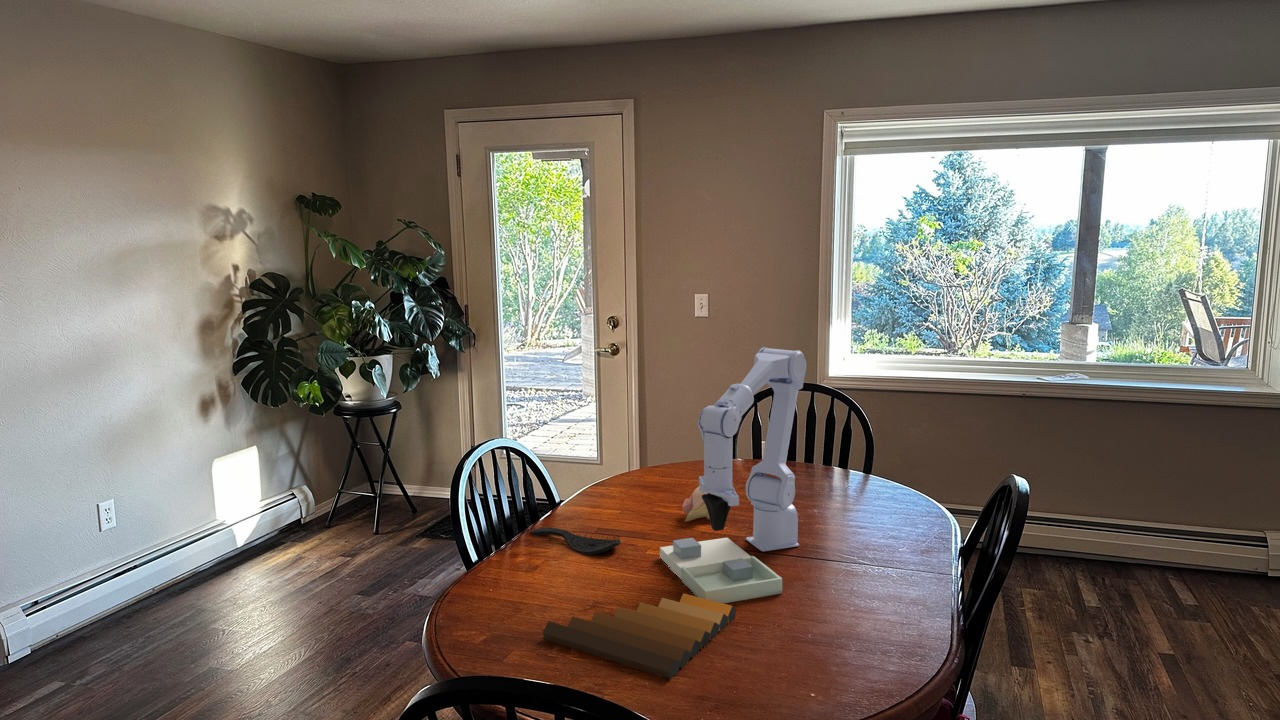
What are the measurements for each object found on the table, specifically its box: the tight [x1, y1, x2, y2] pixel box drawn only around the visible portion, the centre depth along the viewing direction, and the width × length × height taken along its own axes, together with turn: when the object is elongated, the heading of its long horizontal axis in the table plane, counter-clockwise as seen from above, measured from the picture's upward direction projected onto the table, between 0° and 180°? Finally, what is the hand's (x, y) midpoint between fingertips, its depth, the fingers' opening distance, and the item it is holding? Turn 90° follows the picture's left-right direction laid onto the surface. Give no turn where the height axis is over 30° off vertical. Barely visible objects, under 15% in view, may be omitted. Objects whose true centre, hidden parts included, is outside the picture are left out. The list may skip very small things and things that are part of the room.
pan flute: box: [542, 592, 737, 680], centre depth 142 cm, size 25×3×25 cm
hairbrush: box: [530, 526, 622, 556], centre depth 182 cm, size 8×4×25 cm
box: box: [680, 555, 783, 604], centre depth 158 cm, size 16×12×3 cm
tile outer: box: [672, 537, 701, 560], centre depth 169 cm, size 4×4×2 cm
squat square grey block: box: [723, 558, 753, 582], centre depth 162 cm, size 4×4×2 cm
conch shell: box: [682, 485, 710, 523], centre depth 196 cm, size 9×10×10 cm
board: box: [659, 537, 752, 580], centre depth 170 cm, size 16×12×2 cm
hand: (717, 529), depth 164 cm, fingers closed
